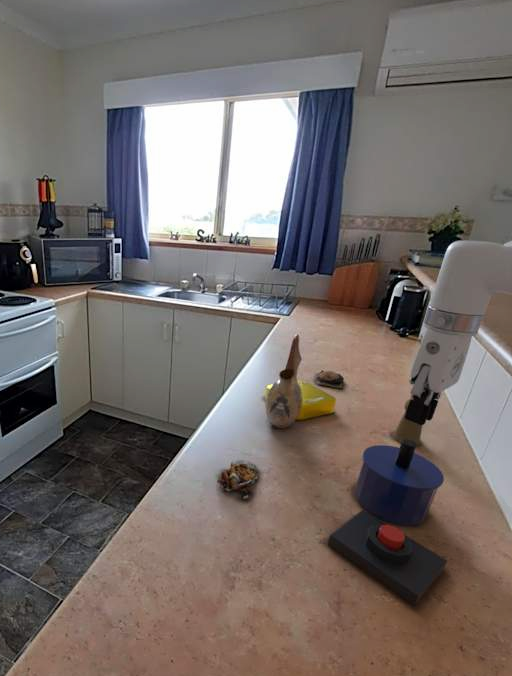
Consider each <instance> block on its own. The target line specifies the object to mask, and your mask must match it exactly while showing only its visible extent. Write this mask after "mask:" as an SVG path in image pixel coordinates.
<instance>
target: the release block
mask: <svg viewBox="0 0 512 676" xmlns="http://www.w3.org/2000/svg"><path fill="white" fill-rule="evenodd" d="M383 525H388V524H387V523H386V522H384V521H382V519H380V518H378V517H377V516H375V515H373V514H372V513H370V512H369V511H367V510H364V509H362V510H360V511H359V512H358V513H357V514H355V515H354V516H352V518H350V519H349V520H348V521H346V522H345V523H344V524H342V525H341V526H340V527H339V528H337V529H336V530H335V531H333V532H332V533H331V534H330V535H329V538H328V542H327V545H328V546H329V547H330V548H332V549H333V550H334V551H336V552H337V553H339V554H340V555H342V557H344V558H346V559H347V560H348V561H350V562H351V563H352V564H354V565H355V566H357V567H358V568H359V569H361V570H362V571H364V572H365V573H367V574H368V576H370V577H372V578H373V579H375V580H377V581H378V582H379V583H381V584H382V585H383V586H385V587H386V588H387V589H388V590H390V591H392V592H393V593H394V594H396V595H397V596H398V597H400V598H401V599H403V600H404V601H406V602H407V603H408V604H410V605H411V606H412V607H415V606H416V605H417V604H418V603H419V601H420V600H421V599H422V597H423V596H424V595H425V593H426V592H427V591H428V590H429V589H430V587H431V586H432V585H433V583H434V582H435V581H436V580H437V579H438V577H439V576H440V575H441V573H442V572H443V571H444V570H445V567H446V566H447V562H448V560H447V559H446V558H443V557H442V556H441V555H438V554H437V553H435V552H434V551H432V550H430V549H429V548H427V547H425V546H424V545H423V544H421V543H420V542H417V541H415V540H414V539H413V538H411V537H409V536H408V535H406V534H405V533H403V534H404V536H405V540H404V542H403V545H402V547H401V548H400V549H397V550H395V549H392V548H389V547H387V546H385V545H383V544H382V543H380V541H379V540H378V537H377V536H378V533H379V530H380V527H381V526H383Z"/></svg>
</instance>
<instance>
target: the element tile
mask: <svg viewBox="0 0 512 676" xmlns="http://www.w3.org/2000/svg"><path fill="white" fill-rule="evenodd" d="M297 382H298V384H299V386H300V388H301V391H302V407H301V411H300V413H299V415H298V417H297V418H296V420H298V421H299V420H300V421H301V420H307V419H311V418H316V417H322V416H325V415H330V414H332V413H334V411H335V407H336V404H337V398H336V397H335V396H333V395H331V394H329V393H328V392H326V391H325V390H322V389H320V388H318V387H317V386H315V385H313V384H312V383H309V382H308V381H305V380H304V379H297ZM273 384H274V383H272V384H269V385H267V386H266V390H265V395H264V399H265V400H266V398H267V394H268V392H269V390H270V388H271V386H272V385H273Z"/></svg>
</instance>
